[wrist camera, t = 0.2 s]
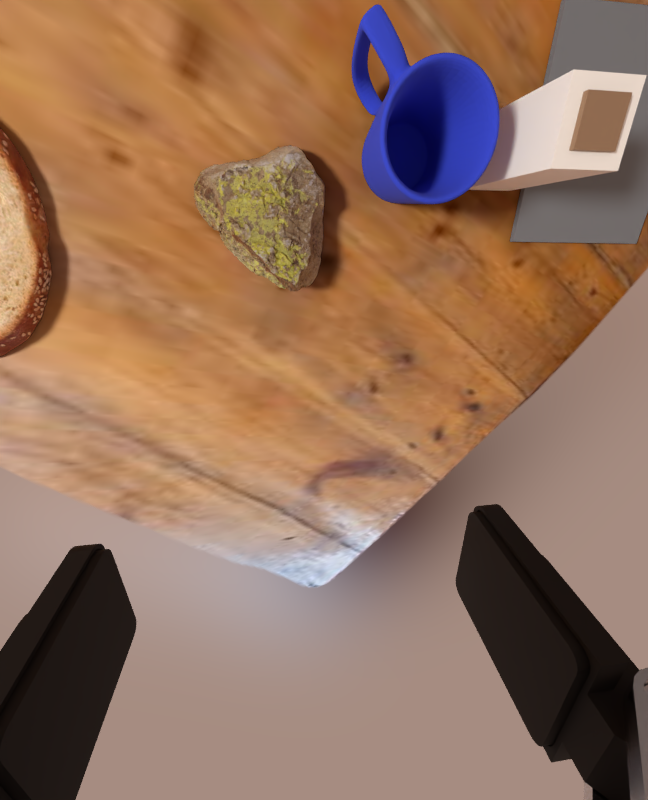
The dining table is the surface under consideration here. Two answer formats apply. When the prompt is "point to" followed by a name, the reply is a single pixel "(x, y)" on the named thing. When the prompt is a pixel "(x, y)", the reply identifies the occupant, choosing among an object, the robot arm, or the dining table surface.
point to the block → (564, 130)
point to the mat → (644, 152)
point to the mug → (423, 119)
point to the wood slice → (20, 250)
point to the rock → (268, 214)
